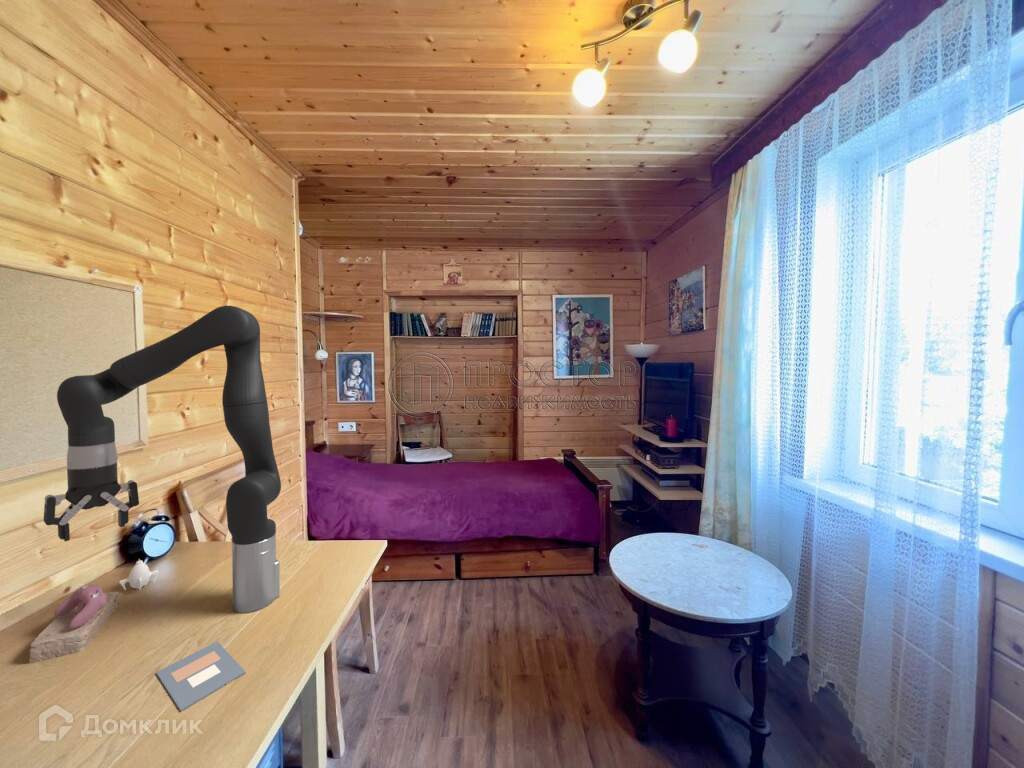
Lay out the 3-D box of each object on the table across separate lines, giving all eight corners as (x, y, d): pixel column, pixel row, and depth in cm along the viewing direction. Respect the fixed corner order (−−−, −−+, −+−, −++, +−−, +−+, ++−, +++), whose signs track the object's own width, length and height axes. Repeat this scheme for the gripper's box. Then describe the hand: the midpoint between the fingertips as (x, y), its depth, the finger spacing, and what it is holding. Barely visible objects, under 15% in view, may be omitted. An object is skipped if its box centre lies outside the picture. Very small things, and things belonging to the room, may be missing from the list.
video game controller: (96, 627, 82) (115, 592, 84) (67, 630, 78) (89, 593, 81) (78, 613, 86) (97, 580, 89) (50, 615, 82) (71, 580, 85)
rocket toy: (139, 581, 103) (139, 553, 103) (159, 581, 103) (159, 553, 103) (119, 593, 98) (118, 563, 97) (140, 593, 98) (139, 564, 97)
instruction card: (217, 642, 82) (217, 641, 82) (245, 673, 74) (245, 671, 74) (156, 673, 73) (156, 671, 73) (180, 711, 66) (180, 709, 66)
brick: (85, 653, 79) (85, 631, 78) (26, 667, 75) (25, 645, 74) (120, 607, 93) (120, 589, 93) (72, 617, 89) (71, 598, 89)
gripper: (131, 454, 92) (133, 518, 93) (39, 467, 80) (42, 540, 81) (141, 459, 88) (142, 526, 89) (45, 473, 76) (48, 550, 77)
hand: (95, 532), depth 85 cm, fingers open, 8 cm apart
